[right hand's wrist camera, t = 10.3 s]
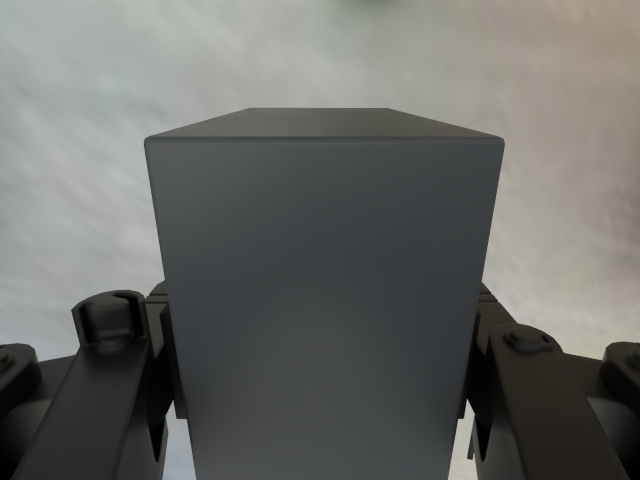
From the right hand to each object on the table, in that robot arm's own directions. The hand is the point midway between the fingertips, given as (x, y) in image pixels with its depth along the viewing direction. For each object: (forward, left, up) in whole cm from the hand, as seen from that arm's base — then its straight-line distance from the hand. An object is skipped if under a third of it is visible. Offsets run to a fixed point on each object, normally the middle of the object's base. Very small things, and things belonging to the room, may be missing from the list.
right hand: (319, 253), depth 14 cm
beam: (+6, +19, -1) cm, 21 cm away
